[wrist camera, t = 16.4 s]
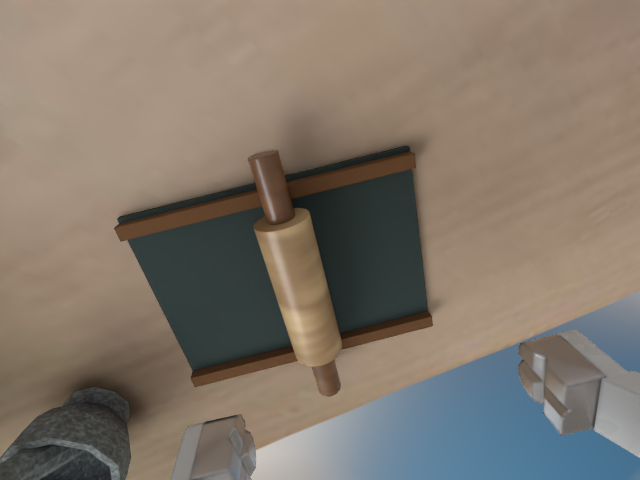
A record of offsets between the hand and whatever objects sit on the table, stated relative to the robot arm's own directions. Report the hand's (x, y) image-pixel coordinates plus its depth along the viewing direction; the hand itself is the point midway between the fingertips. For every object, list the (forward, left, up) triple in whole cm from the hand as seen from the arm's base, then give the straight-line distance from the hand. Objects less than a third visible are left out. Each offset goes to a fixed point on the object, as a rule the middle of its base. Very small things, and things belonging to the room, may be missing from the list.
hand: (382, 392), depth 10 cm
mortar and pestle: (+27, +16, -21) cm, 37 cm away
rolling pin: (+3, +7, -21) cm, 22 cm away
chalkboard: (+4, +7, -21) cm, 22 cm away
